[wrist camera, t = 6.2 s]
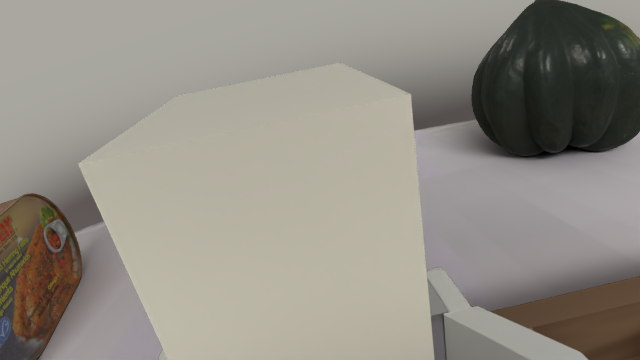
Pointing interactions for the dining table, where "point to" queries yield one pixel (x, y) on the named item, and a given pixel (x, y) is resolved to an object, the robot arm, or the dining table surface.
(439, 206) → the dining table surface
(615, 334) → the walnut rack
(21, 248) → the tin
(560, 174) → the dining table surface
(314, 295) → the cream rectangular block
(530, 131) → the squash
